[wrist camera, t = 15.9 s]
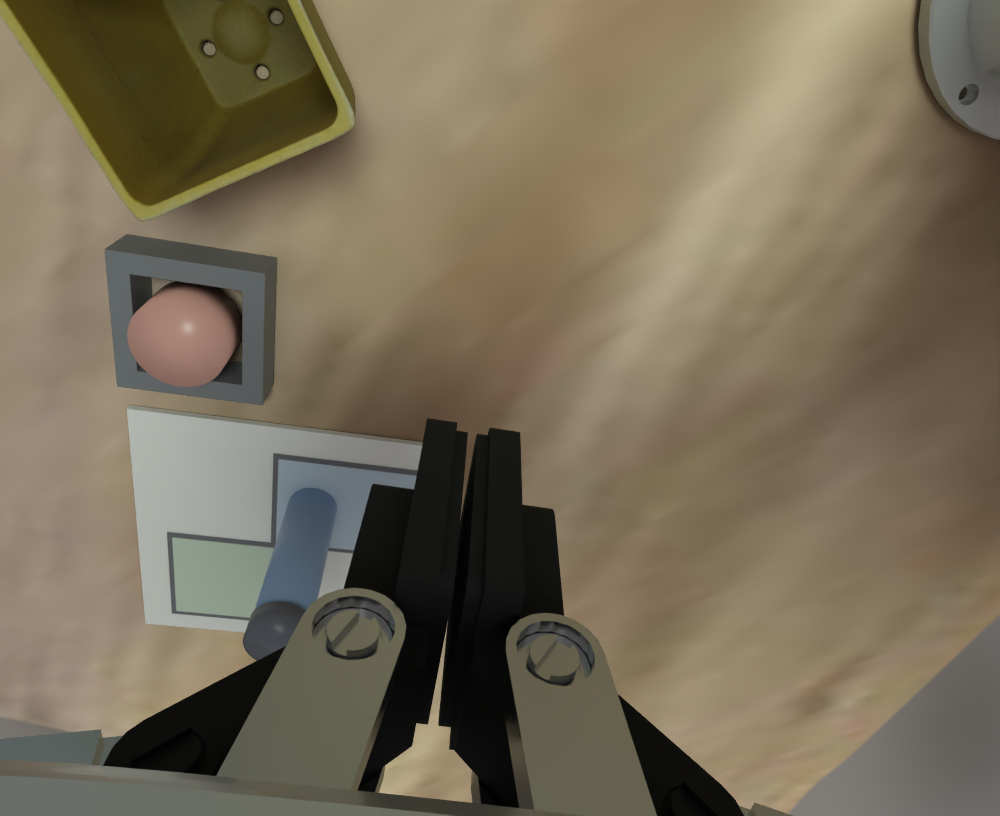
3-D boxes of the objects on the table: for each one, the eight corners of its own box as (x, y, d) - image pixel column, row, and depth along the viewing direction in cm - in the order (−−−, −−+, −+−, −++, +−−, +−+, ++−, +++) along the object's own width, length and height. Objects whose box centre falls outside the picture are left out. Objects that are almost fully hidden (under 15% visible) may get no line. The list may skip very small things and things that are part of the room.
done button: (242, 287, 34) (226, 307, 32) (242, 368, 36) (227, 393, 34) (146, 273, 34) (123, 292, 31) (152, 356, 36) (130, 380, 33)
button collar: (276, 257, 35) (265, 273, 33) (273, 383, 38) (262, 405, 36) (126, 234, 34) (104, 249, 32) (136, 365, 37) (117, 386, 35)
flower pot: (386, 99, 32) (360, 129, 24) (214, 174, 33) (135, 227, 25) (285, -131, 27) (214, -187, 20) (93, -35, 29) (-47, -51, 21)
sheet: (443, 444, 40) (443, 449, 40) (410, 642, 48) (410, 648, 48) (130, 405, 38) (126, 409, 38) (148, 618, 46) (144, 624, 46)
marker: (341, 490, 41) (312, 625, 32) (335, 530, 43) (306, 668, 34) (288, 482, 41) (244, 617, 32) (284, 523, 42) (241, 662, 33)
